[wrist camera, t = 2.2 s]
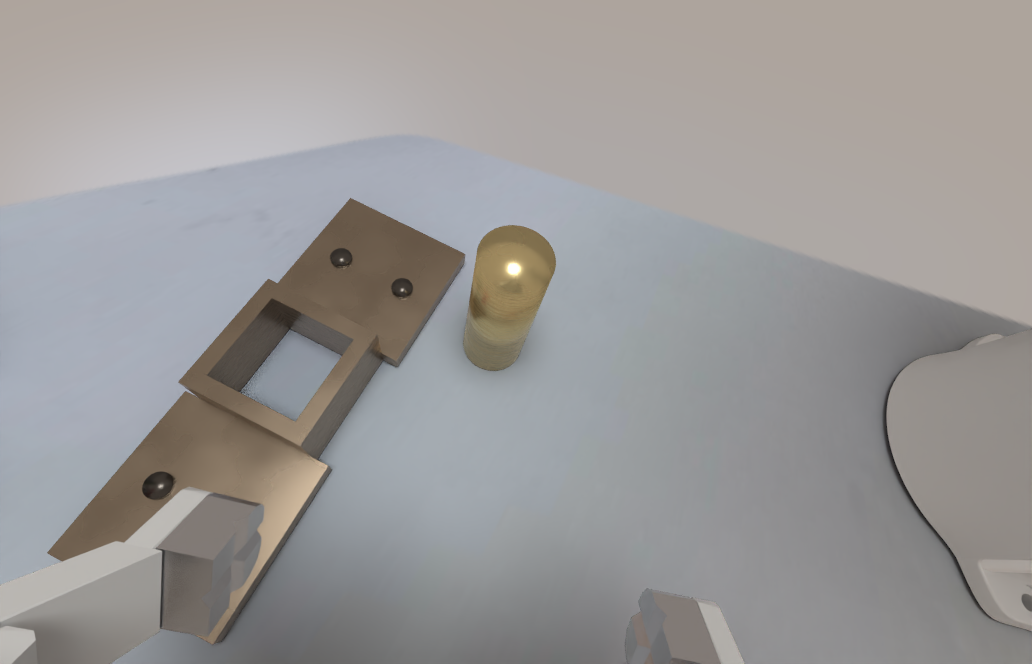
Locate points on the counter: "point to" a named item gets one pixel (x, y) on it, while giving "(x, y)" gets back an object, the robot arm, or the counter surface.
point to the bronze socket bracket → (258, 429)
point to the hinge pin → (506, 294)
